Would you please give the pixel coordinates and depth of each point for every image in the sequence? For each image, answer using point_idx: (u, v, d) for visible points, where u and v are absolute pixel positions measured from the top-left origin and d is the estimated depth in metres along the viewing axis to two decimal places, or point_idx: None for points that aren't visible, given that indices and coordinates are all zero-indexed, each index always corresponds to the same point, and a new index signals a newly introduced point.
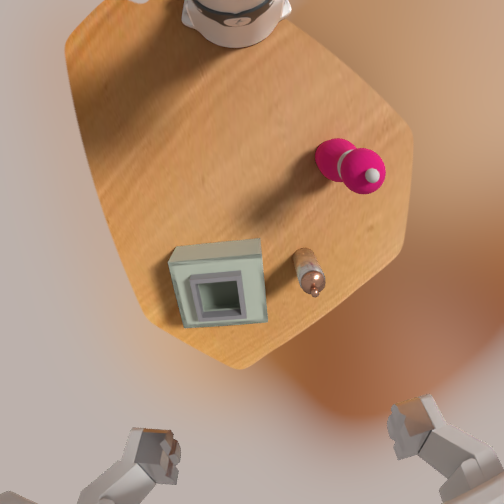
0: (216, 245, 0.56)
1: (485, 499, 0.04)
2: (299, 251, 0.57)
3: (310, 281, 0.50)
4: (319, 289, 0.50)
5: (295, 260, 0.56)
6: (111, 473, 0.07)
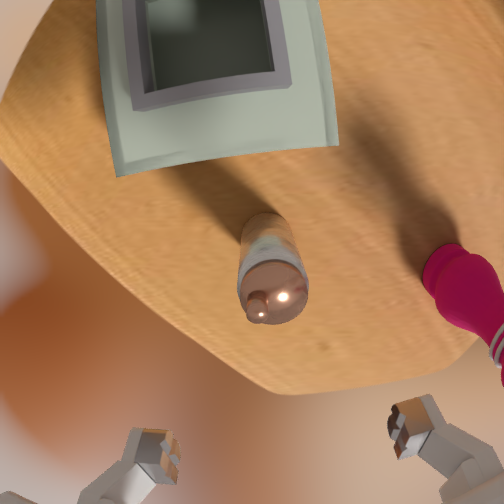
0: None
1: (485, 499, 0.04)
2: (289, 227, 0.26)
3: (282, 288, 0.18)
4: None
5: (278, 223, 0.24)
6: (111, 473, 0.07)
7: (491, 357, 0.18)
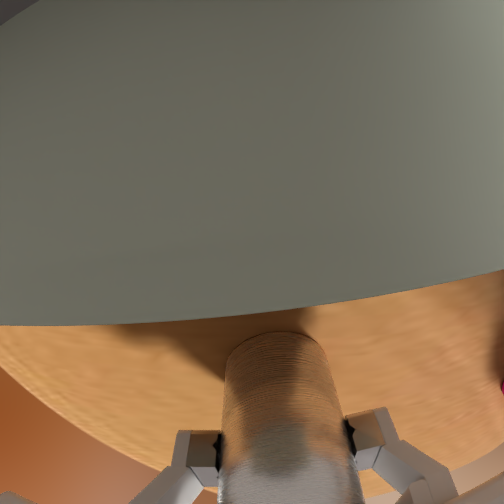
0: None
1: (485, 499, 0.04)
2: (327, 365, 0.11)
3: None
4: None
5: (307, 381, 0.09)
6: (162, 480, 0.07)
7: None
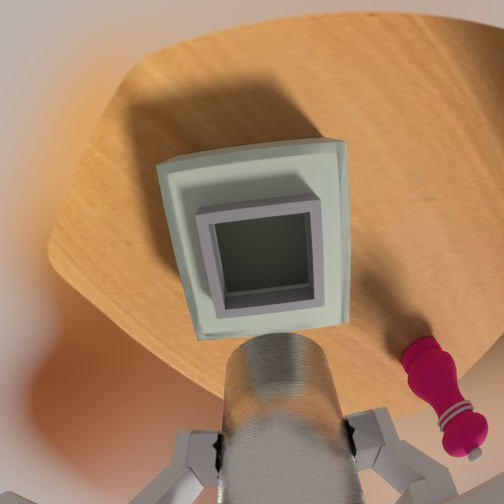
0: None
1: (485, 499, 0.04)
2: (327, 365, 0.11)
3: None
4: None
5: (307, 381, 0.09)
6: (162, 480, 0.07)
7: (439, 426, 0.27)
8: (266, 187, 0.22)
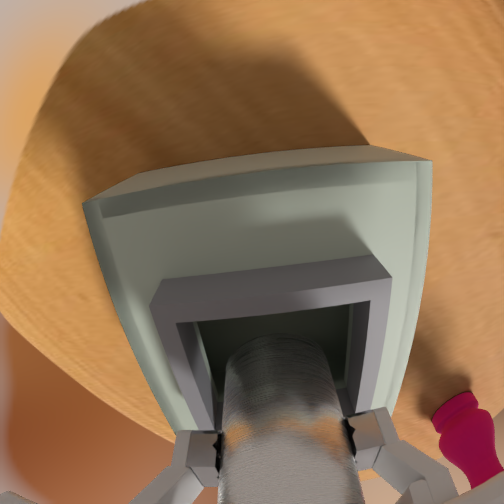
0: None
1: (485, 499, 0.04)
2: (327, 365, 0.11)
3: None
4: None
5: (307, 382, 0.09)
6: (162, 480, 0.07)
7: None
8: (286, 245, 0.12)
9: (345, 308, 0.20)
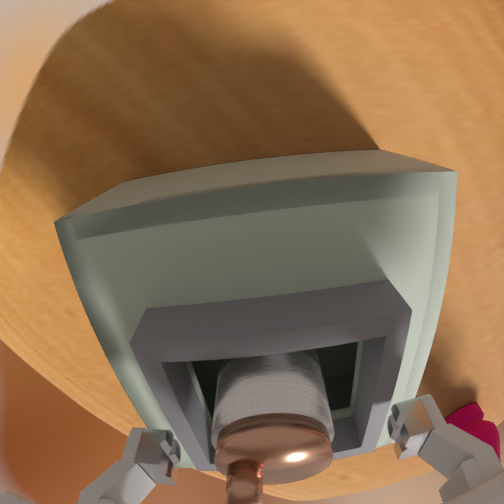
0: None
1: (485, 499, 0.04)
2: None
3: (288, 458, 0.08)
4: None
5: None
6: (111, 473, 0.07)
7: None
8: (289, 271, 0.10)
9: None
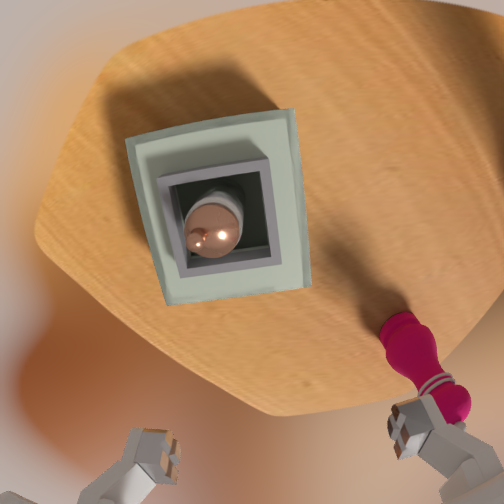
0: None
1: (485, 499, 0.04)
2: (240, 188, 0.30)
3: (216, 224, 0.22)
4: None
5: (226, 183, 0.28)
6: (111, 473, 0.07)
7: None
8: (221, 153, 0.24)
9: None
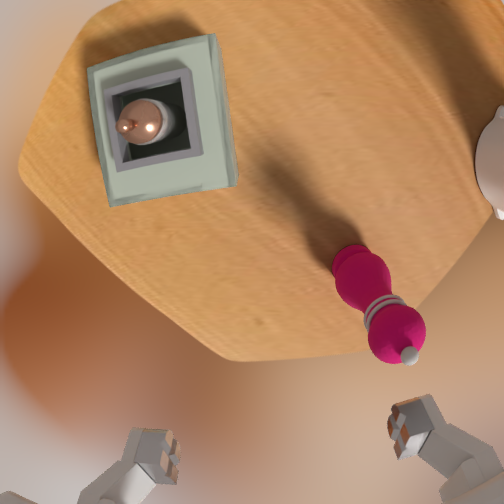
0: (228, 109, 0.32)
1: (485, 499, 0.04)
2: (180, 108, 0.32)
3: (142, 114, 0.24)
4: (129, 136, 0.24)
5: None
6: (111, 473, 0.07)
7: None
8: (156, 71, 0.25)
9: None
